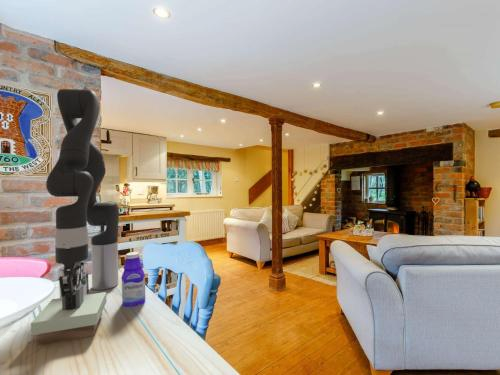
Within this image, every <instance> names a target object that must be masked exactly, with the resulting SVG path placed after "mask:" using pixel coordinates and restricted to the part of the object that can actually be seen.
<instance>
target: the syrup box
mask: <svg viewBox="0 0 500 375" xmlns="http://www.w3.org/2000/svg"><path fill="white" fill-rule="evenodd" d="M83 262H84V261H83ZM88 264H89V263H88V262H84V270H83V282H82V283H81V284H83V295H88V294H90V290H89V288H90V286H89V265H88ZM63 269H64V265H63V266H60V267H59V268H58V278H59V277H60V276H62V270H63ZM58 285H59V288H58V289H59V298H62V295H61V289H60V283H58Z"/></svg>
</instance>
